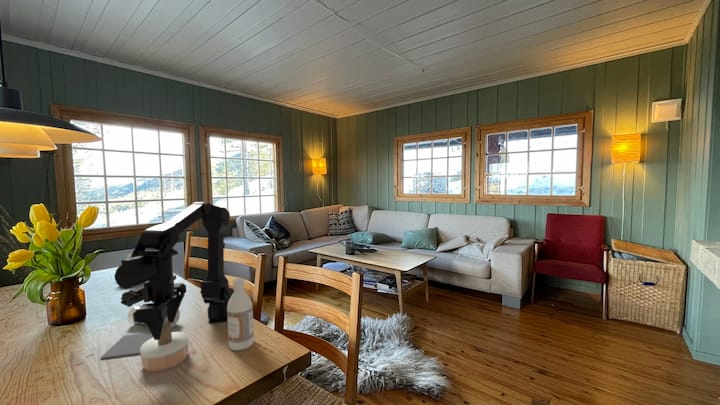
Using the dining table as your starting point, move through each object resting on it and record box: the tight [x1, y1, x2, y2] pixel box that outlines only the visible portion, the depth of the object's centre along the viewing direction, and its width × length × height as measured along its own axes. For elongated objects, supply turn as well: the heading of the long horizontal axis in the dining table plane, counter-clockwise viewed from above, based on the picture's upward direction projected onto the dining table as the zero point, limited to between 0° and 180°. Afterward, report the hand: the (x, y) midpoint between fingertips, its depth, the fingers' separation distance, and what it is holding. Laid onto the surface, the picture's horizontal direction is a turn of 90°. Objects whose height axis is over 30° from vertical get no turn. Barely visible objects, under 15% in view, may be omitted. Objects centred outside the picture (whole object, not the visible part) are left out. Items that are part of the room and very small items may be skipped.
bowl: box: [140, 343, 189, 373], centre depth 81 cm, size 10×10×4 cm
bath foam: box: [227, 277, 255, 352], centre depth 88 cm, size 7×7×20 cm
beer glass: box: [126, 305, 181, 329], centre depth 101 cm, size 7×7×15 cm
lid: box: [139, 322, 189, 358], centre depth 81 cm, size 11×11×6 cm
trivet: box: [100, 332, 153, 360], centre depth 89 cm, size 12×12×1 cm
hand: (164, 330), depth 81 cm, fingers open, 9 cm apart
